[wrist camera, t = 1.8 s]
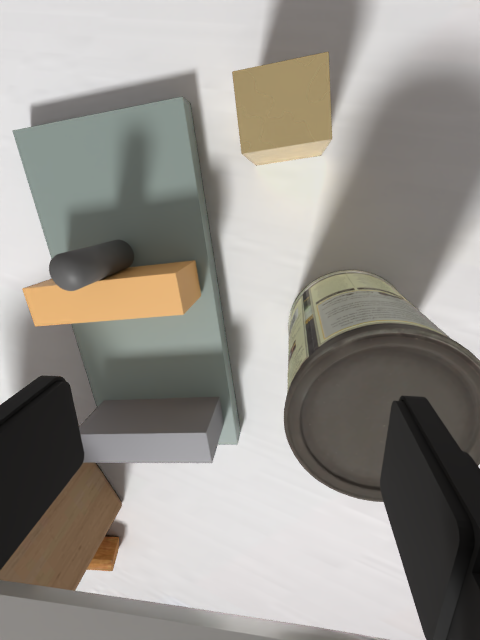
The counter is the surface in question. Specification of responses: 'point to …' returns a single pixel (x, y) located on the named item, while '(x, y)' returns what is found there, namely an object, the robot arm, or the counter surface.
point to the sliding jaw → (110, 287)
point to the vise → (149, 249)
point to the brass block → (284, 109)
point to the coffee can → (368, 378)
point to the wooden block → (66, 533)
